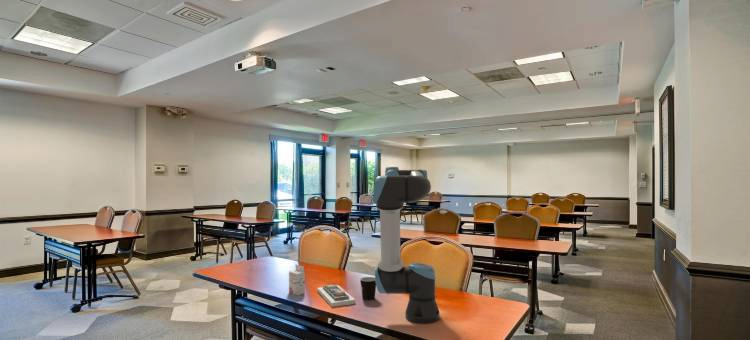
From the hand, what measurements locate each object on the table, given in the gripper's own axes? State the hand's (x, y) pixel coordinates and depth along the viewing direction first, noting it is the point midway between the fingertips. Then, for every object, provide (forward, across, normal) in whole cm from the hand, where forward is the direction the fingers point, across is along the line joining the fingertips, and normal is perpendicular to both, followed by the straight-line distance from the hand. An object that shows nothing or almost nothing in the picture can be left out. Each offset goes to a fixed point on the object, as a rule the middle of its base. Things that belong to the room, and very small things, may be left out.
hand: (392, 237), depth 209 cm
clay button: (+26, +32, +4) cm, 41 cm away
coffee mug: (+30, +16, +4) cm, 34 cm away
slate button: (+27, +32, -4) cm, 42 cm away
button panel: (+29, +32, -4) cm, 44 cm away
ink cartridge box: (+30, +49, -20) cm, 61 cm away
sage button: (+27, +32, -12) cm, 44 cm away
